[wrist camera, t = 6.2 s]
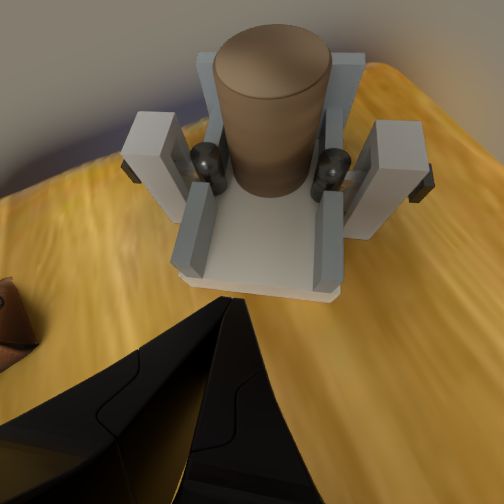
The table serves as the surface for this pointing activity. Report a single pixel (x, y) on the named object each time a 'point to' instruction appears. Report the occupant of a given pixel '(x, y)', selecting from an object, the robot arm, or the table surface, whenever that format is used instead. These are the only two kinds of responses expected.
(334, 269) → the channel
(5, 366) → the sunglasses case
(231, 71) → the peg
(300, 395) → the table surface
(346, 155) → the plunger
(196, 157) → the plunger
